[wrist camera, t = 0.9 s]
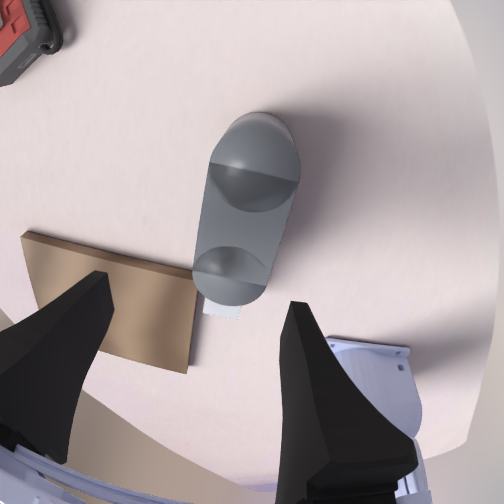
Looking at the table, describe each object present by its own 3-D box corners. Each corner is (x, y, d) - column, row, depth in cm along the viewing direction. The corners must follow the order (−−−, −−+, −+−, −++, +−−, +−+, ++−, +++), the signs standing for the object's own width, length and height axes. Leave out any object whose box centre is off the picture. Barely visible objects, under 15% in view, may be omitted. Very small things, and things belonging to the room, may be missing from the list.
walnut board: (200, 273, 23) (198, 281, 22) (188, 366, 29) (186, 374, 28) (26, 231, 22) (20, 236, 21) (50, 325, 28) (46, 331, 27)
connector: (300, 121, 17) (311, 139, 12) (251, 292, 23) (247, 342, 19) (231, 105, 16) (217, 118, 12) (199, 281, 23) (185, 329, 19)
